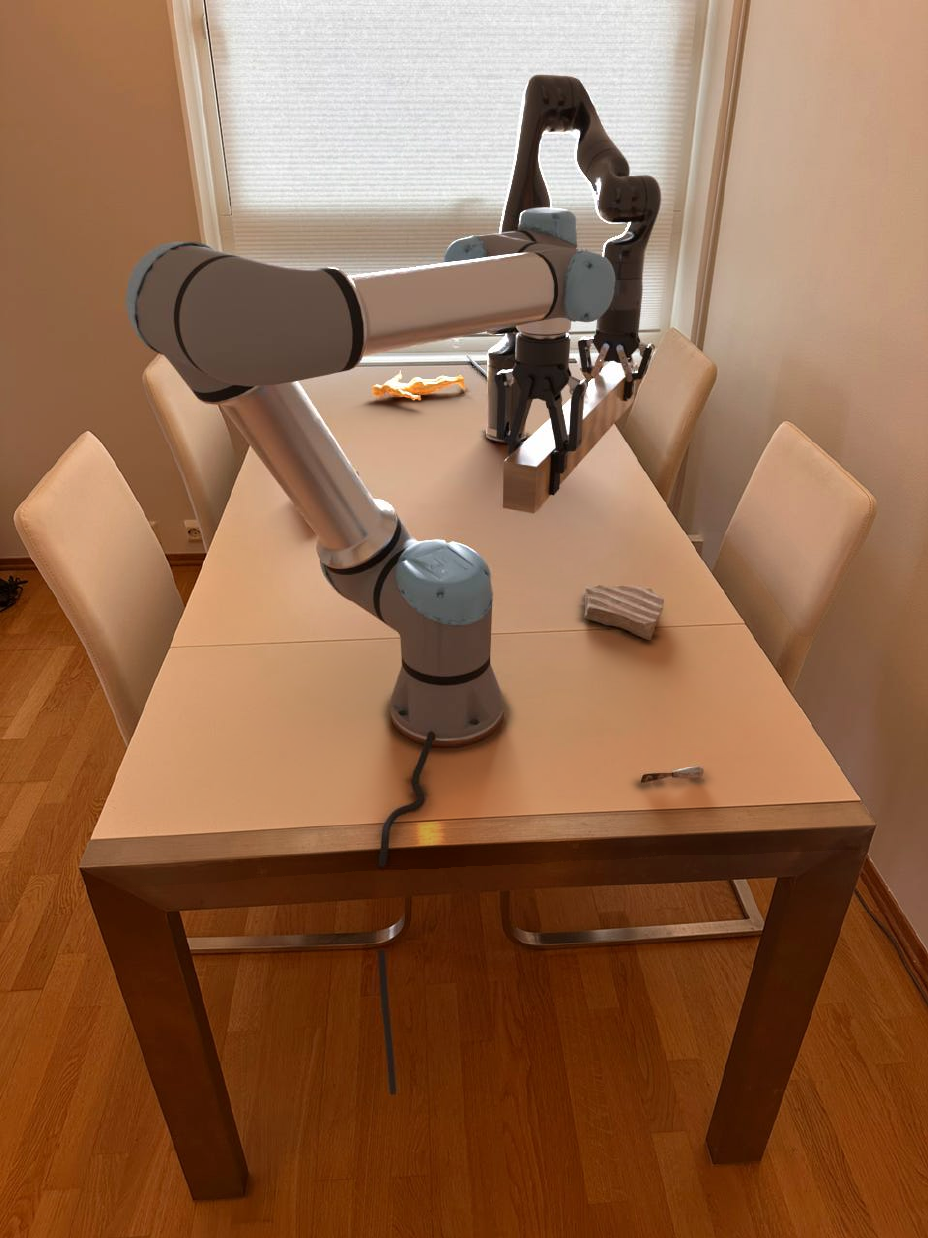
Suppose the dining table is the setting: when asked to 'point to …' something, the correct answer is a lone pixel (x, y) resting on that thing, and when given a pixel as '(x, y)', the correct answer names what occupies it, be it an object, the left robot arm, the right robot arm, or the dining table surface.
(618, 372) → the post
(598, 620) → the stone
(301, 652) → the dining table surface
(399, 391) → the human figure
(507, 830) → the dining table surface
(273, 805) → the dining table surface
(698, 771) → the putty knife
